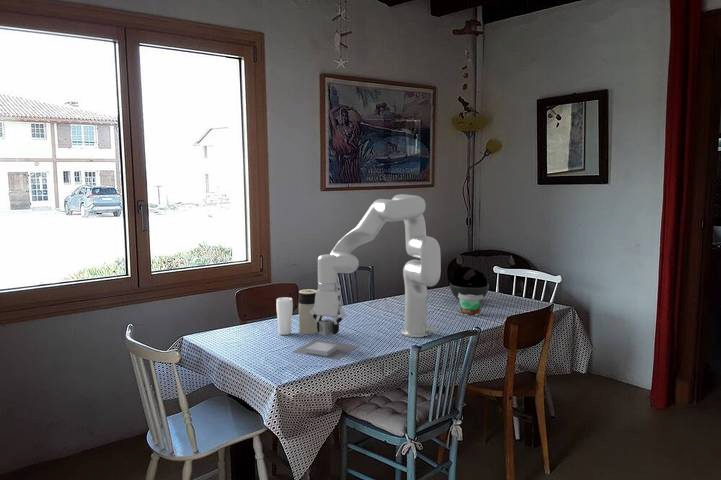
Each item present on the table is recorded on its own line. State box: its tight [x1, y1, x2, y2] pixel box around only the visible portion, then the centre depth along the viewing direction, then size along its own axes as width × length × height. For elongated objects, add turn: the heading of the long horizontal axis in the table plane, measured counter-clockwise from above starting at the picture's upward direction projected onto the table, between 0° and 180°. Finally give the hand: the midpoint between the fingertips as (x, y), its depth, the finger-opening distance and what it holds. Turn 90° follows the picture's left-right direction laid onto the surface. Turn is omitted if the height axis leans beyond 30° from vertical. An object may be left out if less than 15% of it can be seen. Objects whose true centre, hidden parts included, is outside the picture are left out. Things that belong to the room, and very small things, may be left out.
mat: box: [292, 339, 360, 361], centre depth 228 cm, size 20×18×1 cm
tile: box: [306, 342, 338, 356], centre depth 224 cm, size 9×2×9 cm
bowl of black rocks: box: [449, 266, 490, 302], centre depth 305 cm, size 20×20×19 cm
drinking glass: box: [276, 296, 294, 336], centre depth 248 cm, size 7×7×15 cm
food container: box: [458, 292, 485, 315], centre depth 282 cm, size 12×6×10 cm, turn 68°
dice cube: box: [317, 318, 335, 337], centre depth 228 cm, size 5×5×5 cm
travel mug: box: [298, 288, 318, 335], centre depth 250 cm, size 8×8×18 cm
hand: (327, 331), depth 228 cm, fingers closed on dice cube, 6 cm apart
